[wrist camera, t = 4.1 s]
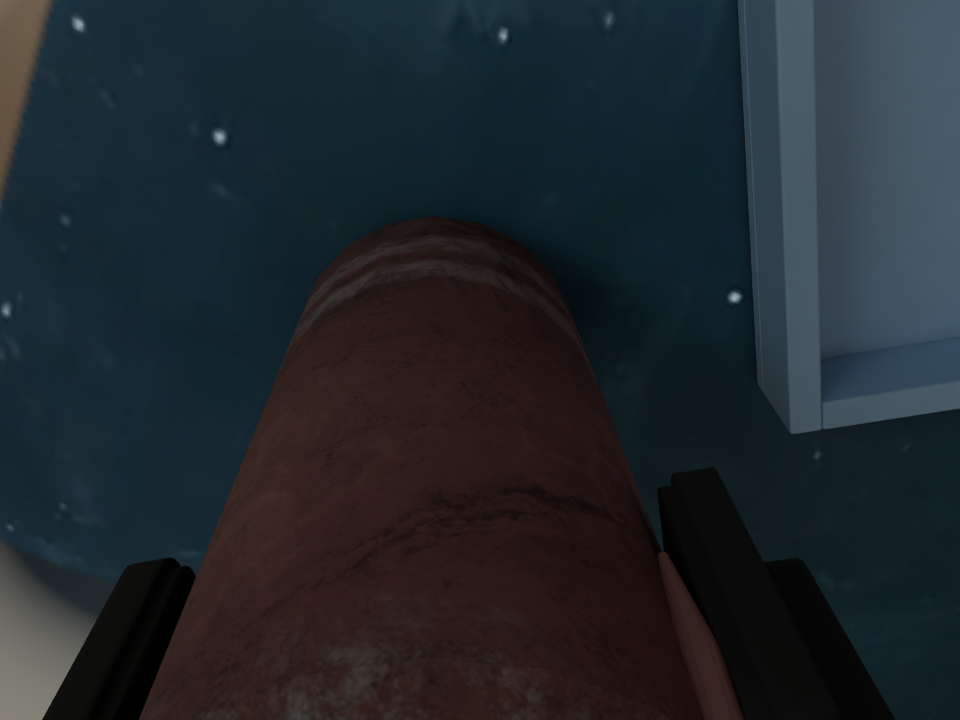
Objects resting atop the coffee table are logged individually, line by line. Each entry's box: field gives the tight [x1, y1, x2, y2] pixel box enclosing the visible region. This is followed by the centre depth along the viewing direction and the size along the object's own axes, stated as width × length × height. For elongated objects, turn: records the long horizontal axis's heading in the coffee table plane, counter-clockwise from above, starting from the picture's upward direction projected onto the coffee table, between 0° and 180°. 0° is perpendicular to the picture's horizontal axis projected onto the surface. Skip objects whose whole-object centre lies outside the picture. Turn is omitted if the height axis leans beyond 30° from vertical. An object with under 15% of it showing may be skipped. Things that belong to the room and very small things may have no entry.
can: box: [139, 216, 745, 720], centre depth 13 cm, size 6×6×14 cm
